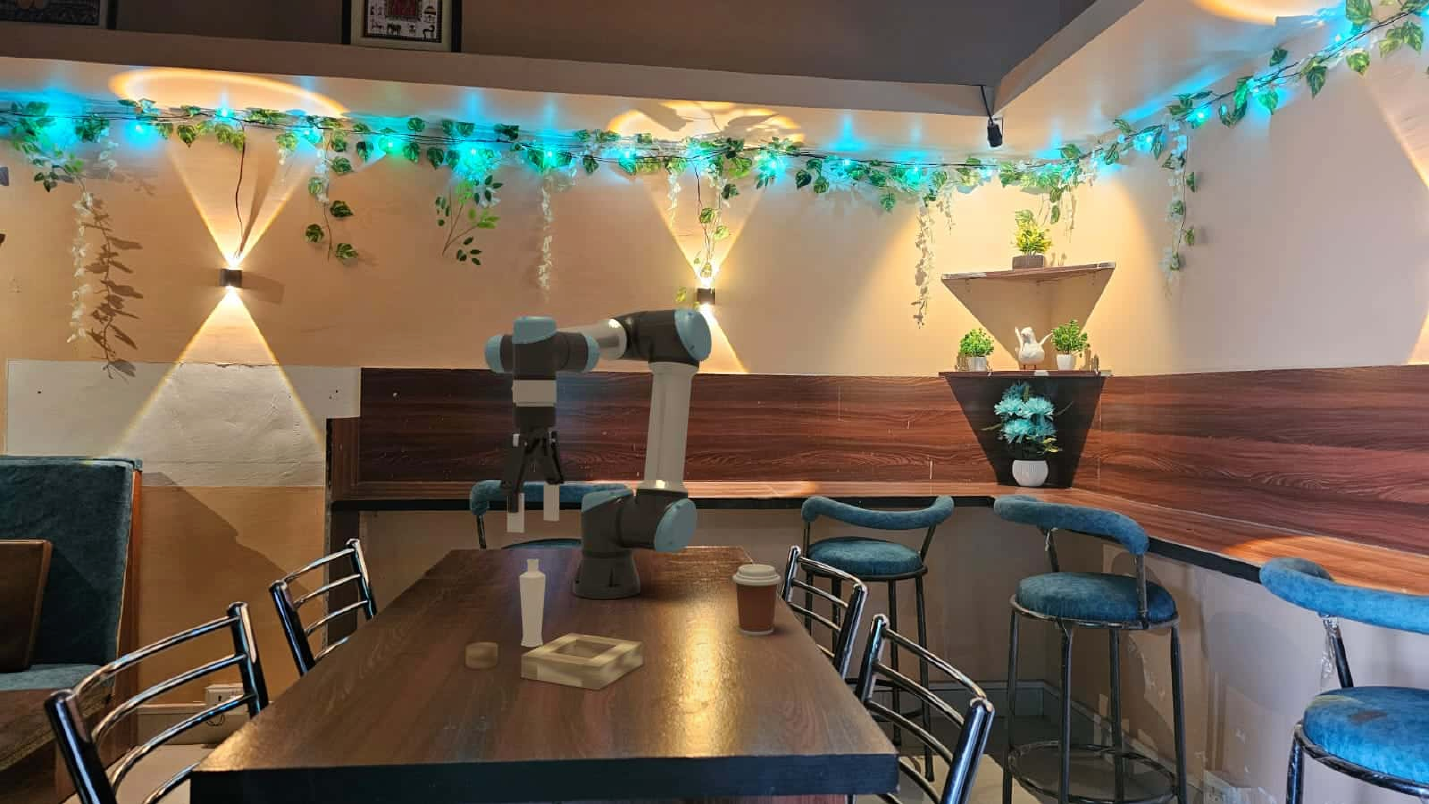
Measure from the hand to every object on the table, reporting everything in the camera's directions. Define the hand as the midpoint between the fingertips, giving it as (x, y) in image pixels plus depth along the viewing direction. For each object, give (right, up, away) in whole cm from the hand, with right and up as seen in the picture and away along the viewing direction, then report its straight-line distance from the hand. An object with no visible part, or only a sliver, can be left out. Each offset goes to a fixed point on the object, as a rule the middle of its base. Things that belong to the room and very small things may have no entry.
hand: (534, 526), depth 148 cm
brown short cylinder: (-7, -21, -10) cm, 24 cm away
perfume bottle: (-1, -22, +2) cm, 22 cm away
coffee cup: (+40, -22, +12) cm, 47 cm away
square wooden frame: (+11, -21, -13) cm, 27 cm away
